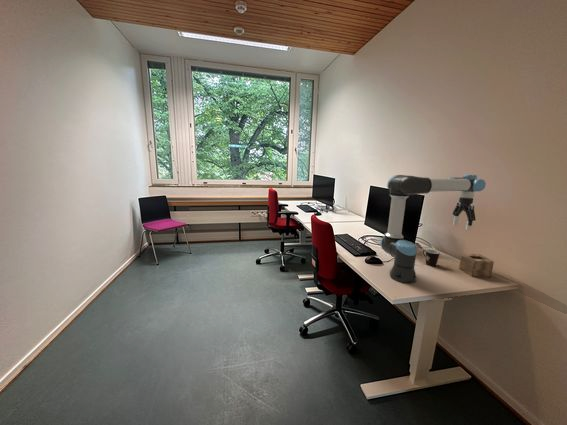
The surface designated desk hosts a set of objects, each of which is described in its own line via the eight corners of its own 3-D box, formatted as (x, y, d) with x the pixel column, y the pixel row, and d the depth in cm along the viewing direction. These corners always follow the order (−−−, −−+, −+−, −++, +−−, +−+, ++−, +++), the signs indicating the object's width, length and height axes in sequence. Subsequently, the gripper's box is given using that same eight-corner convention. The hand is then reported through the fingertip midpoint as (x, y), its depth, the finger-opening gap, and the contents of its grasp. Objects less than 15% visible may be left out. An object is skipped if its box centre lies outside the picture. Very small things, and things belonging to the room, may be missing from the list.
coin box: (471, 276, 152) (474, 260, 150) (459, 268, 163) (461, 253, 161) (490, 277, 151) (493, 261, 149) (476, 269, 163) (479, 254, 161)
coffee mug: (440, 267, 165) (442, 254, 163) (426, 266, 166) (428, 253, 164) (433, 261, 176) (434, 248, 174) (420, 260, 178) (422, 247, 176)
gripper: (486, 200, 146) (480, 232, 150) (460, 195, 171) (455, 223, 175) (473, 199, 147) (468, 232, 151) (449, 195, 171) (445, 222, 175)
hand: (461, 227), depth 163 cm, fingers open, 13 cm apart
